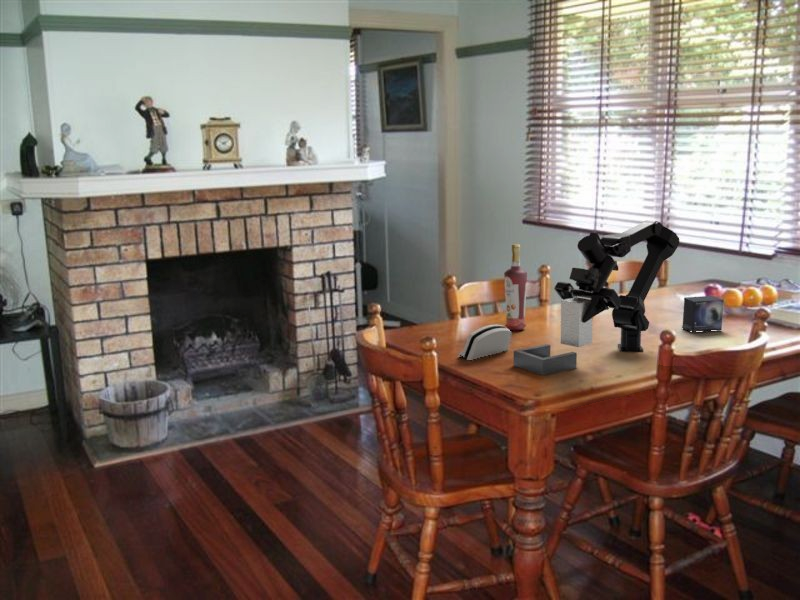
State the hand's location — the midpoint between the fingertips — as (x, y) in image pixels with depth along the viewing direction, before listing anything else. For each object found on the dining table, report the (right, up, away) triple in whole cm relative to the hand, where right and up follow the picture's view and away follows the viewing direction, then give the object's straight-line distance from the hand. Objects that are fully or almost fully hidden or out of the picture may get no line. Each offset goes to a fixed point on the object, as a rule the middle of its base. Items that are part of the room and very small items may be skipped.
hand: (573, 320), depth 217 cm
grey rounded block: (-21, -11, +18) cm, 30 cm away
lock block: (+1, -6, +2) cm, 7 cm away
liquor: (-9, -4, +47) cm, 48 cm away
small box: (+50, -4, +40) cm, 64 cm away
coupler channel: (-7, -13, +4) cm, 15 cm away
